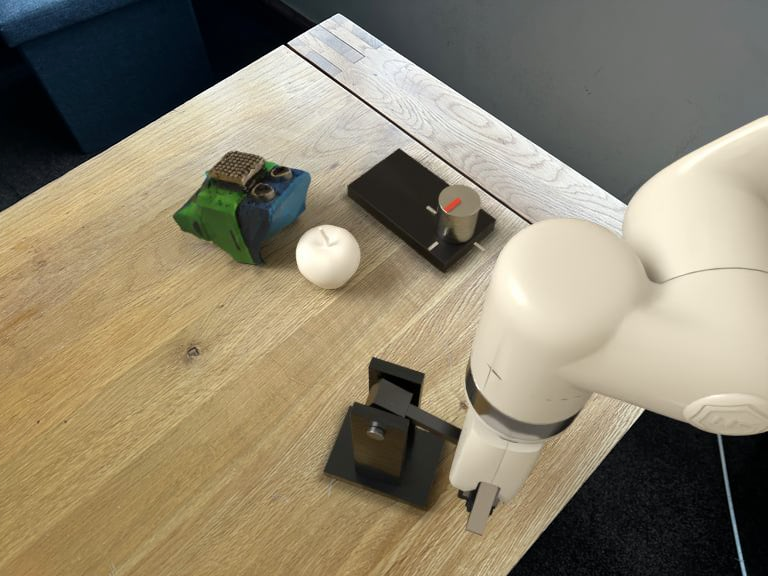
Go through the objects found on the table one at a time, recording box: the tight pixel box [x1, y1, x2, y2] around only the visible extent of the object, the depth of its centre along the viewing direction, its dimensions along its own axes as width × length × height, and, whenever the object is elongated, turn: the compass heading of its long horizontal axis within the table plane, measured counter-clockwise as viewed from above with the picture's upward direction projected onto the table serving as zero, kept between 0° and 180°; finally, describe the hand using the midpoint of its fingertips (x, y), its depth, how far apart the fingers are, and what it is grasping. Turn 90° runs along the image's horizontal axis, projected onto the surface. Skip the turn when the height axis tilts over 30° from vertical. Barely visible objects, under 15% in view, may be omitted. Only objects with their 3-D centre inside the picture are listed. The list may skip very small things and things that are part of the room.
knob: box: [435, 184, 482, 244], centre depth 74 cm, size 5×5×5 cm
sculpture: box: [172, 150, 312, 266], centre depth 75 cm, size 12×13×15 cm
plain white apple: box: [295, 224, 361, 290], centre depth 72 cm, size 7×7×8 cm
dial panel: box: [346, 147, 497, 274], centre depth 79 cm, size 18×9×2 cm, turn 45°
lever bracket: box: [322, 356, 447, 511], centre depth 57 cm, size 10×7×16 cm
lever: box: [364, 378, 462, 446], centre depth 53 cm, size 12×4×2 cm, turn 71°
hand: (485, 466), depth 56 cm, fingers open, 5 cm apart
